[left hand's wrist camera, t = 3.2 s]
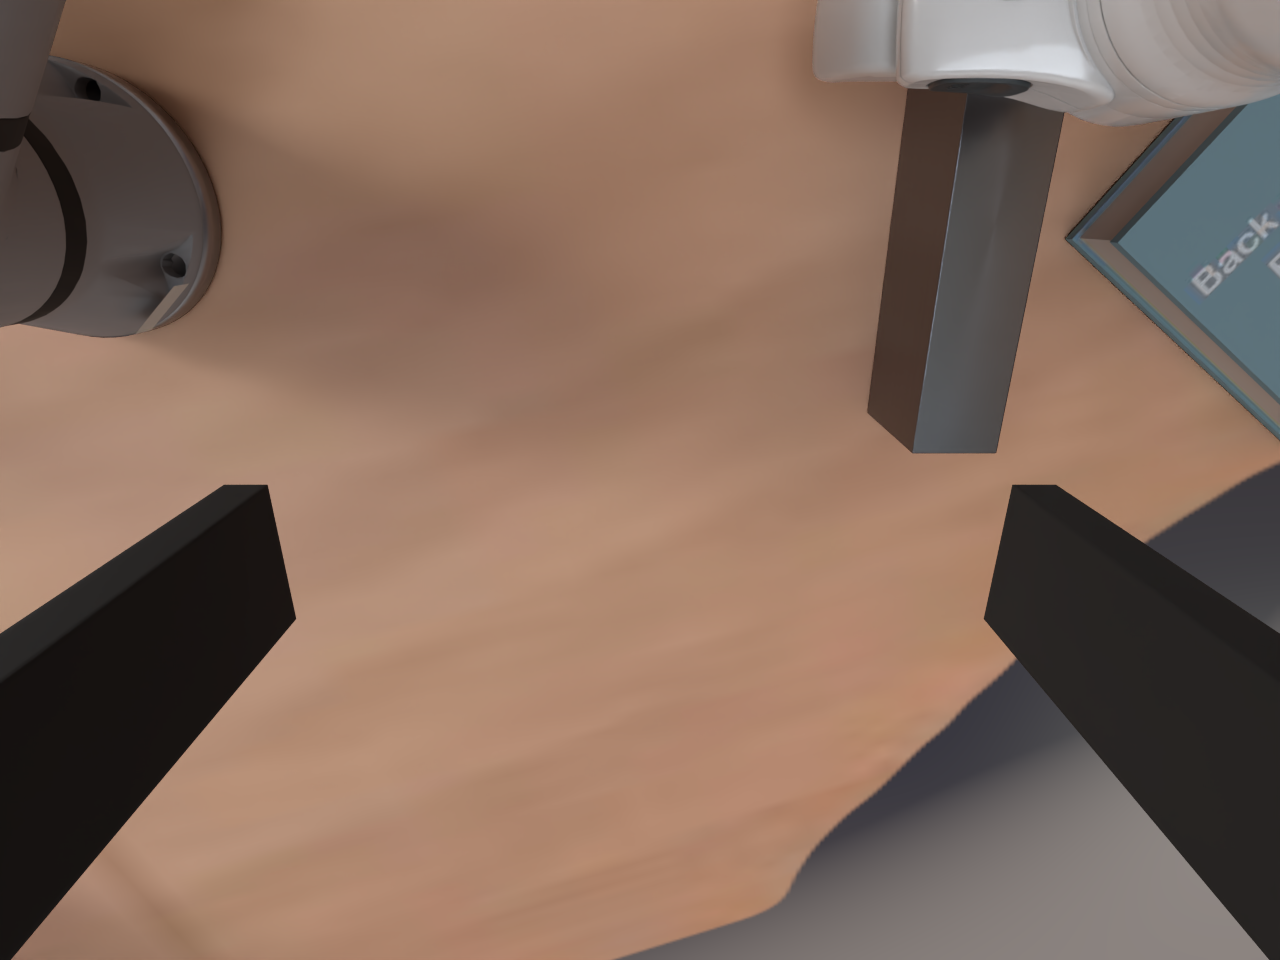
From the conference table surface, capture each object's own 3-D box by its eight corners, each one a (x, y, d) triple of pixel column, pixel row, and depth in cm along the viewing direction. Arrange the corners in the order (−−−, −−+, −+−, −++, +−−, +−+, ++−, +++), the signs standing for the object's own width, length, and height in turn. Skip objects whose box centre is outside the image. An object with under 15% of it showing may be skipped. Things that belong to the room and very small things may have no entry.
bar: (937, 412, 47) (996, 453, 39) (867, 413, 47) (912, 453, 39) (1007, -12, 38) (1101, -69, 30) (920, -12, 38) (992, -69, 30)
